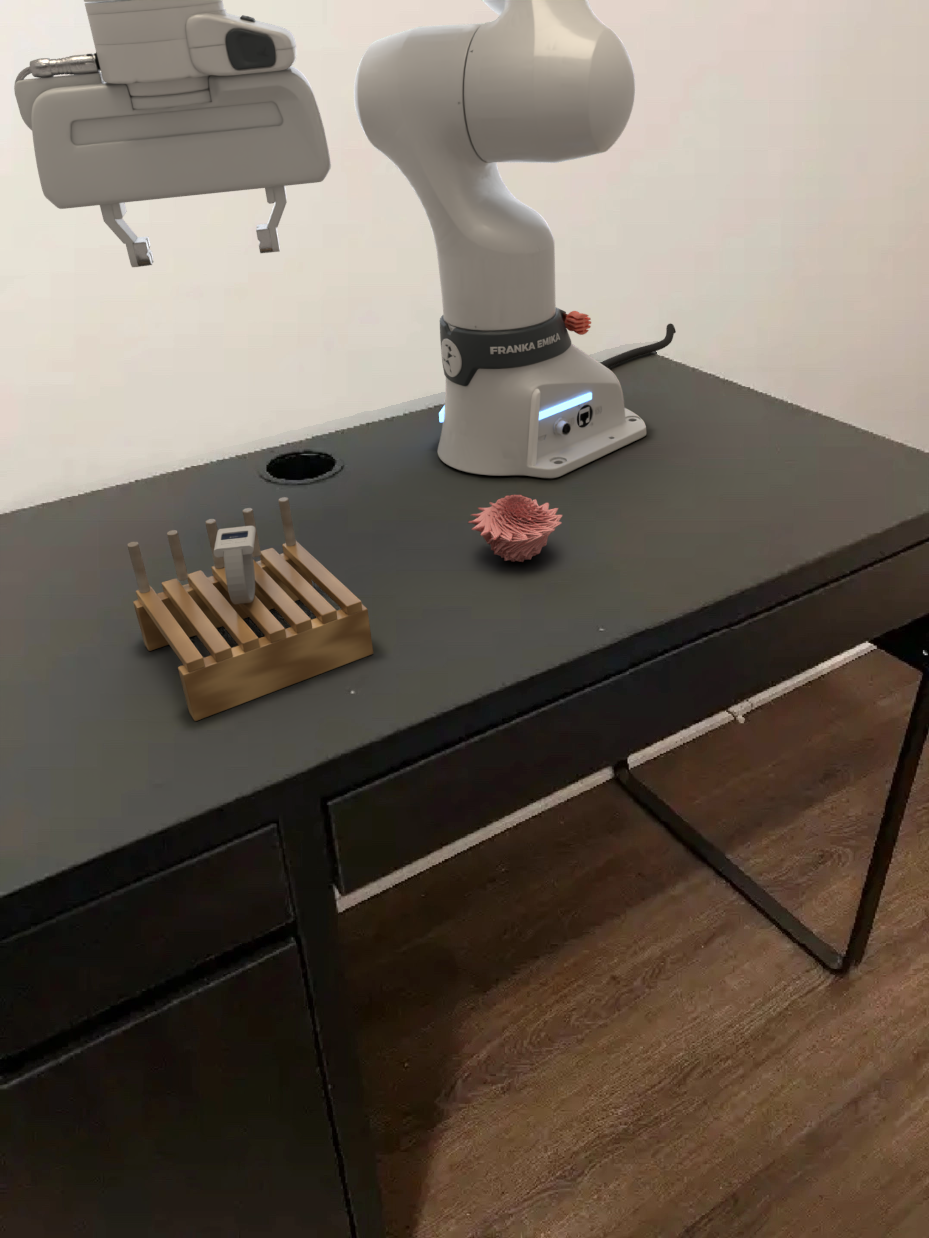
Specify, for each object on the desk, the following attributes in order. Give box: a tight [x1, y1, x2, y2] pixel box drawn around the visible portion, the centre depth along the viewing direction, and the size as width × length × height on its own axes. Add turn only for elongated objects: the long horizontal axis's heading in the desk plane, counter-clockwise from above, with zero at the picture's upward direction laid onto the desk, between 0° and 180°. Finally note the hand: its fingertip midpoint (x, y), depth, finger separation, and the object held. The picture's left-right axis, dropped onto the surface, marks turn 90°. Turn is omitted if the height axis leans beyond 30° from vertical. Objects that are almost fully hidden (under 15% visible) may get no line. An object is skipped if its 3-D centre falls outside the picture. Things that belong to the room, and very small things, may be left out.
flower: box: [467, 494, 563, 563], centre depth 87 cm, size 8×8×6 cm
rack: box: [126, 496, 374, 722], centre depth 76 cm, size 14×12×9 cm
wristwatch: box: [214, 525, 257, 604], centre depth 75 cm, size 6×3×5 cm, turn 7°
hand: (207, 258), depth 77 cm, fingers open, 8 cm apart
